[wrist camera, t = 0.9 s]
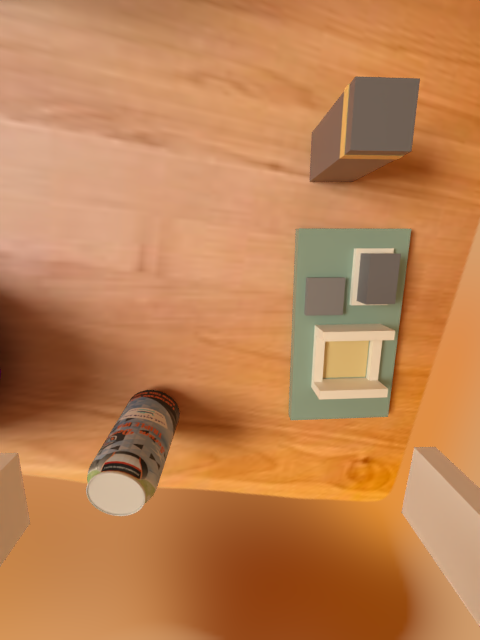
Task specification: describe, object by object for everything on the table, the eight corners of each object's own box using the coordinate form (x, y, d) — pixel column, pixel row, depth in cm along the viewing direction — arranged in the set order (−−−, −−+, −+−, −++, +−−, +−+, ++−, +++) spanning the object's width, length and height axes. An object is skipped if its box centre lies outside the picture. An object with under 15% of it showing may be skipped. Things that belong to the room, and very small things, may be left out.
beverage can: (188, 393, 36) (172, 464, 24) (167, 445, 37) (143, 535, 25) (136, 376, 35) (93, 441, 23) (117, 429, 36) (68, 516, 24)
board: (295, 229, 32) (306, 226, 28) (404, 229, 33) (430, 226, 28) (288, 414, 37) (296, 435, 33) (382, 411, 38) (402, 431, 34)
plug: (311, 132, 30) (354, 75, 20) (356, 133, 30) (420, 77, 20) (309, 182, 31) (349, 151, 21) (352, 182, 31) (411, 152, 21)
